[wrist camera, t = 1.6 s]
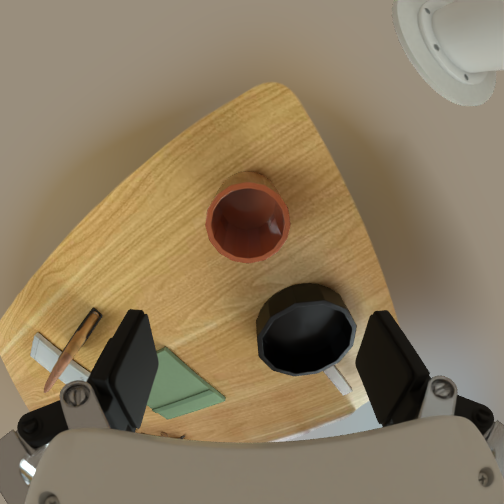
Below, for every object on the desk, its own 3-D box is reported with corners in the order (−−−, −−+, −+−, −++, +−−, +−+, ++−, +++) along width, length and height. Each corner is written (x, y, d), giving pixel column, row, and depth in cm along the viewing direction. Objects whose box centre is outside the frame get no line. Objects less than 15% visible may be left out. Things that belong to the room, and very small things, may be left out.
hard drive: (88, 378, 38) (33, 336, 34) (78, 394, 40) (29, 356, 37) (91, 372, 39) (38, 330, 36) (81, 388, 42) (33, 351, 38)
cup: (255, 159, 27) (259, 165, 19) (290, 209, 29) (305, 235, 22) (204, 194, 28) (189, 214, 21) (239, 242, 30) (237, 276, 23)
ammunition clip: (93, 306, 34) (53, 363, 23) (103, 315, 34) (66, 373, 23) (70, 340, 36) (38, 390, 25) (78, 347, 37) (48, 398, 26)
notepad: (165, 346, 36) (164, 351, 35) (225, 397, 41) (225, 402, 40) (112, 373, 39) (110, 377, 38) (168, 416, 44) (167, 420, 43)
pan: (322, 265, 32) (331, 281, 28) (374, 357, 38) (382, 374, 35) (238, 314, 34) (237, 334, 30) (309, 391, 41) (313, 409, 37)
